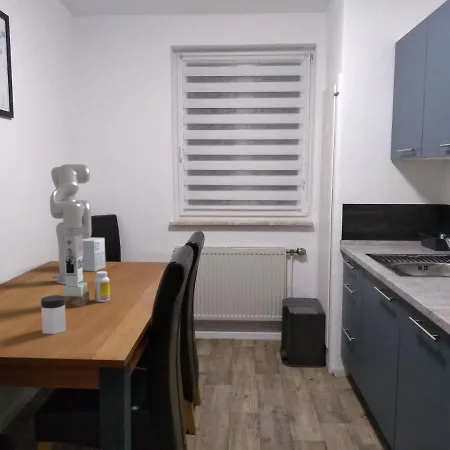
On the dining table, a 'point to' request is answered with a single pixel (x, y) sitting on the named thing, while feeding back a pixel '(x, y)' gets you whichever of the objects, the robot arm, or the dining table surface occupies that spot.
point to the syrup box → (75, 273)
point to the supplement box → (93, 254)
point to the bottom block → (77, 300)
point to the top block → (75, 290)
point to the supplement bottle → (102, 287)
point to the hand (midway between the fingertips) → (74, 270)
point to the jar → (53, 314)
